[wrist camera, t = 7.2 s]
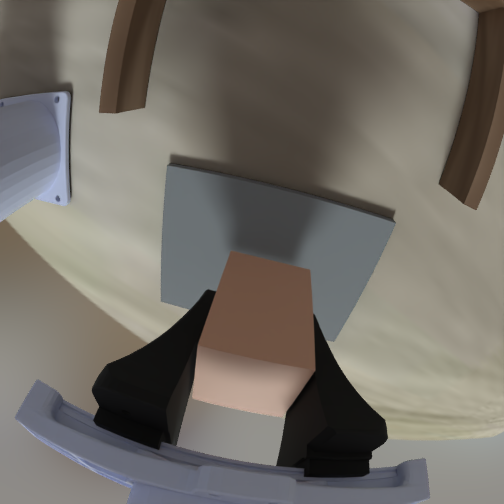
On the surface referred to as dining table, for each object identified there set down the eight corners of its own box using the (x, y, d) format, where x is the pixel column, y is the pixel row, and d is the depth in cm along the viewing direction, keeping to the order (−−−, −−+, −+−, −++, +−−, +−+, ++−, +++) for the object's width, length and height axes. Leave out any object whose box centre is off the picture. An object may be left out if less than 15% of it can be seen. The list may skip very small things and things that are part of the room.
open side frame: (129, 106, 13) (99, 112, 11) (178, -78, 6) (159, -98, 4) (450, 189, 13) (476, 210, 11) (491, 10, 7) (519, 5, 4)
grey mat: (163, 297, 20) (160, 301, 20) (170, 163, 15) (167, 165, 15) (333, 336, 20) (334, 341, 20) (393, 219, 15) (395, 223, 15)
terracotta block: (219, 308, 16) (192, 398, 11) (230, 250, 14) (197, 345, 9) (287, 324, 16) (282, 417, 11) (310, 269, 14) (315, 370, 9)
